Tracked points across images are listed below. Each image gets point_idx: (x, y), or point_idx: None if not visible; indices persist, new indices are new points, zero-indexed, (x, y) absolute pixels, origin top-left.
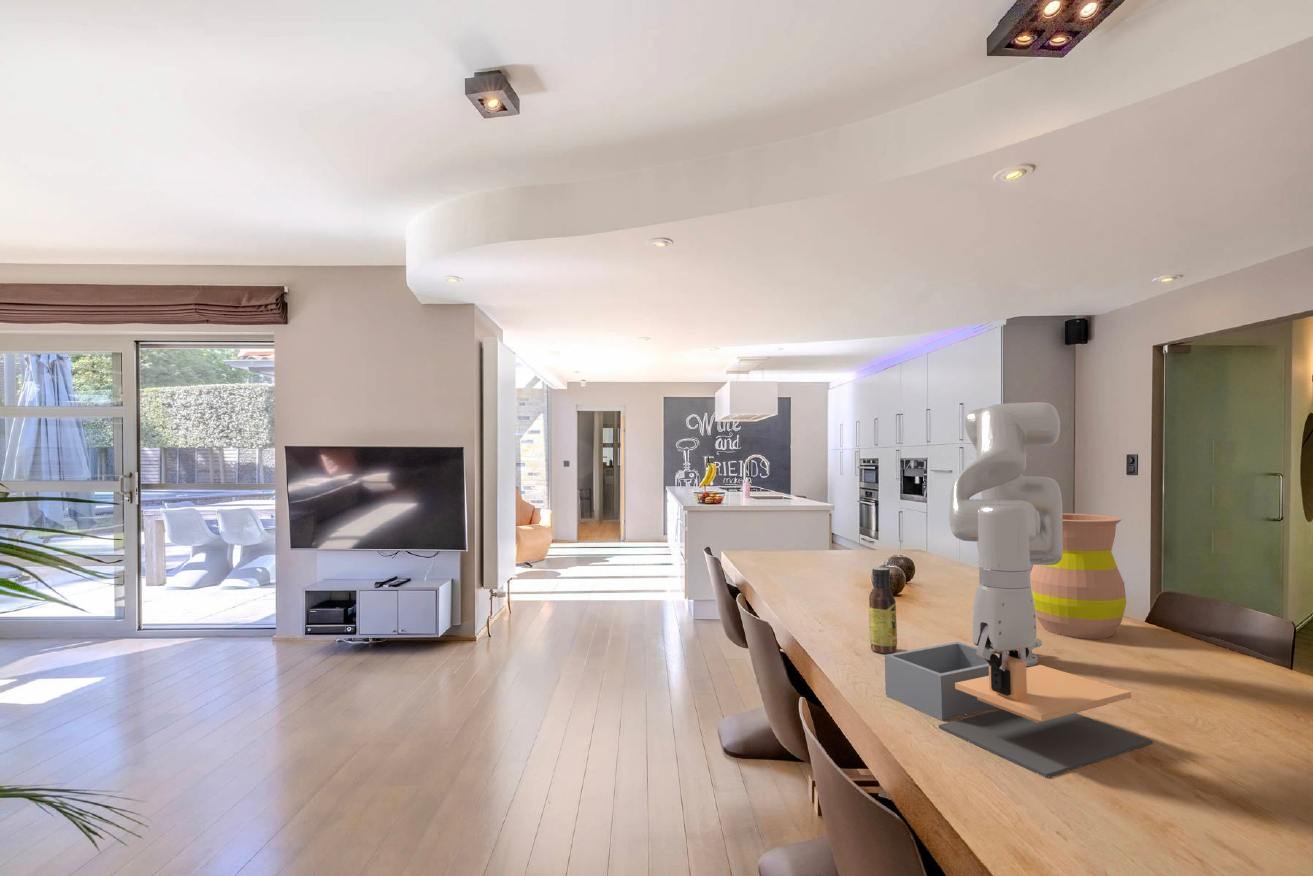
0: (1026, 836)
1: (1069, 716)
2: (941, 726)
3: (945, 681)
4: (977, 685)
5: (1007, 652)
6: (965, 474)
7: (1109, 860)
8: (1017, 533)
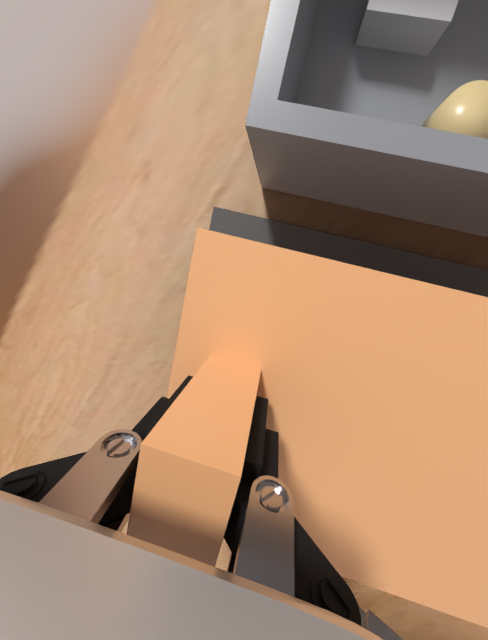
0: (22, 453)
1: None
2: (212, 215)
3: (273, 144)
4: (235, 300)
5: (239, 543)
6: None
7: None
8: None
